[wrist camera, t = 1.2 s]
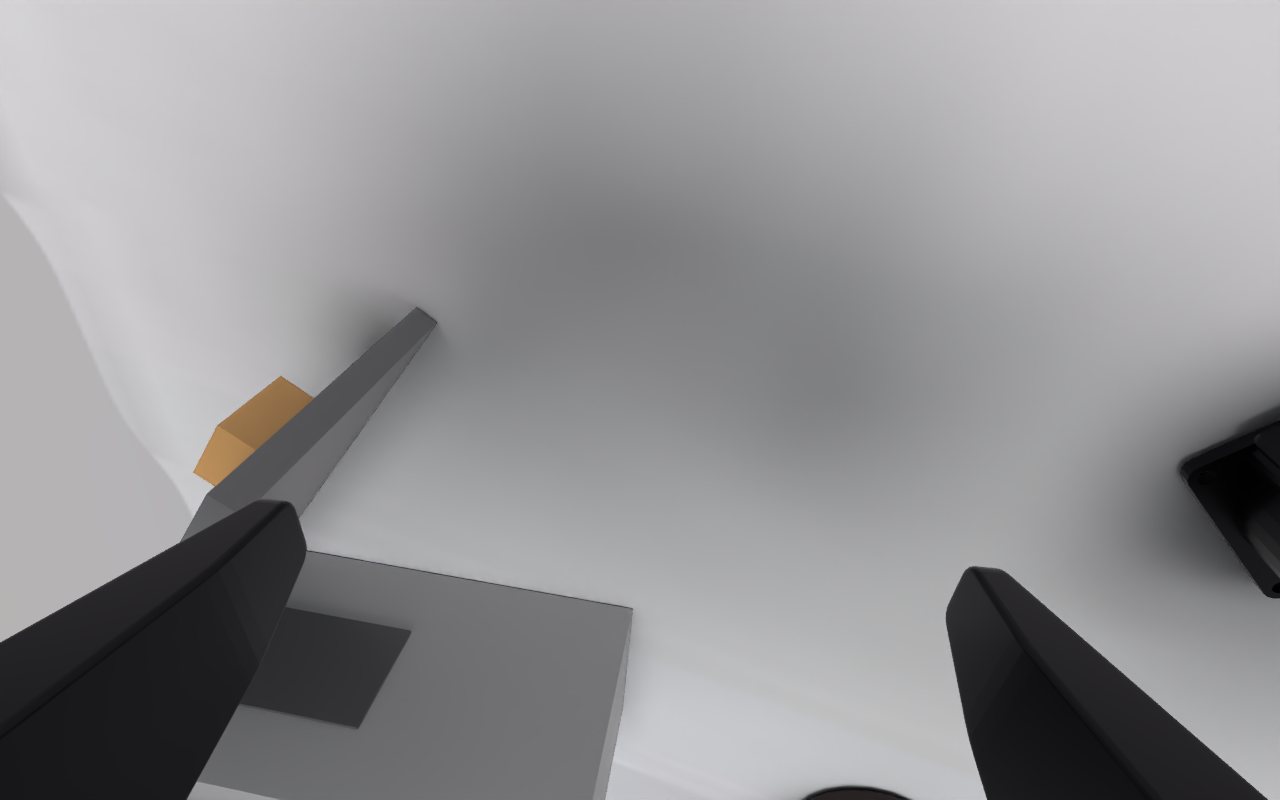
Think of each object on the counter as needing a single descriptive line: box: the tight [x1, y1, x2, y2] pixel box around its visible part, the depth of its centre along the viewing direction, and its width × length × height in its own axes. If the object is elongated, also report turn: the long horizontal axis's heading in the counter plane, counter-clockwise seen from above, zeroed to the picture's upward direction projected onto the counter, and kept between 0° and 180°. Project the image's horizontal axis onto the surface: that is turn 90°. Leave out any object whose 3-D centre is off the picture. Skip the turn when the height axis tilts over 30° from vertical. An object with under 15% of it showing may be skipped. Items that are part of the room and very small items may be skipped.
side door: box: [180, 307, 437, 542], centre depth 21 cm, size 14×2×10 cm, turn 141°
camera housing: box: [187, 551, 633, 800], centre depth 25 cm, size 16×7×11 cm, turn 86°
